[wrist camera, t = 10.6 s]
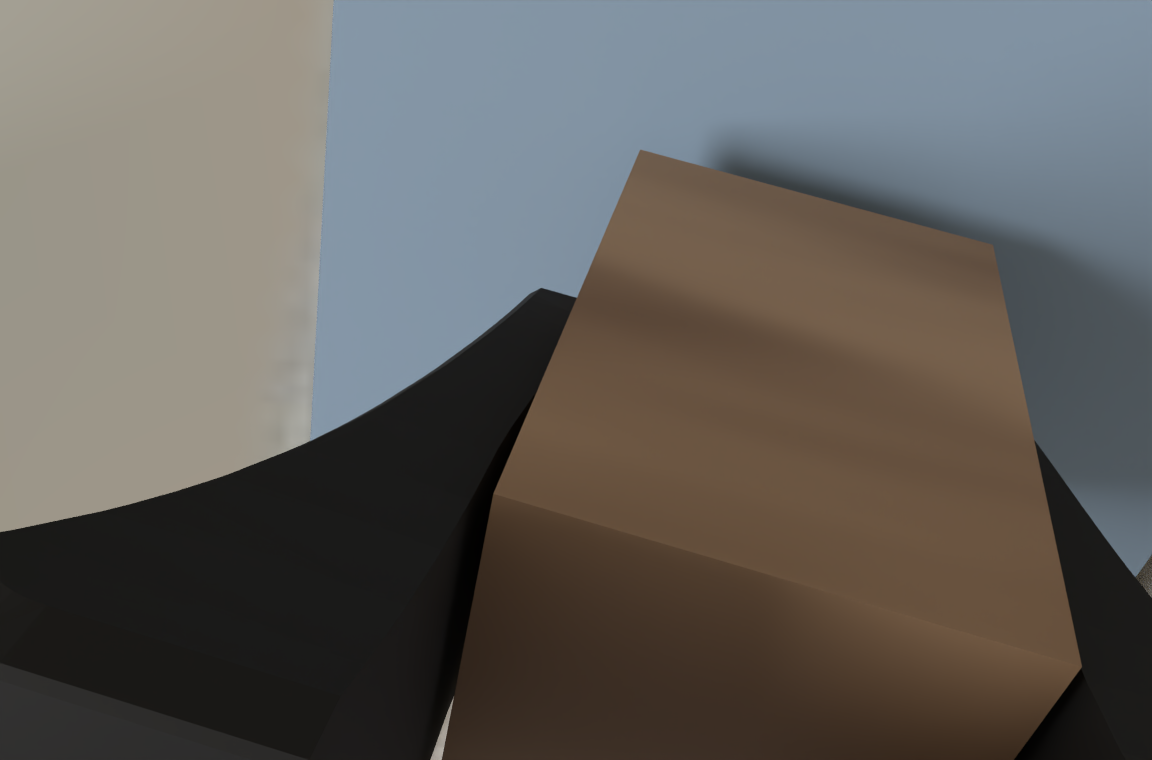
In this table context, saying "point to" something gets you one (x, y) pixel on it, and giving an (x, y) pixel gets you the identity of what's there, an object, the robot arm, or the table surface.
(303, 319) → the table surface
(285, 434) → the table surface
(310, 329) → the table surface
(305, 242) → the table surface
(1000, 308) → the walnut block
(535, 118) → the slate mat
